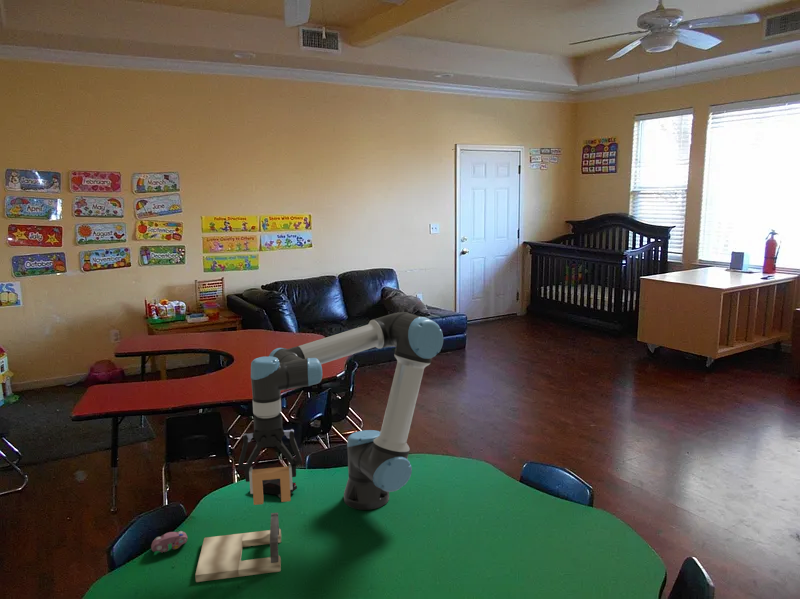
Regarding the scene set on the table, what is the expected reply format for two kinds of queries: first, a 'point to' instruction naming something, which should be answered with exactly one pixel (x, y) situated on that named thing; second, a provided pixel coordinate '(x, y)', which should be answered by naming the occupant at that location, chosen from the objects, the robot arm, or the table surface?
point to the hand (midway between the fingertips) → (271, 489)
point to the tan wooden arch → (270, 474)
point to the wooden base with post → (238, 554)
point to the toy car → (275, 487)
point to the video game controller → (169, 541)
